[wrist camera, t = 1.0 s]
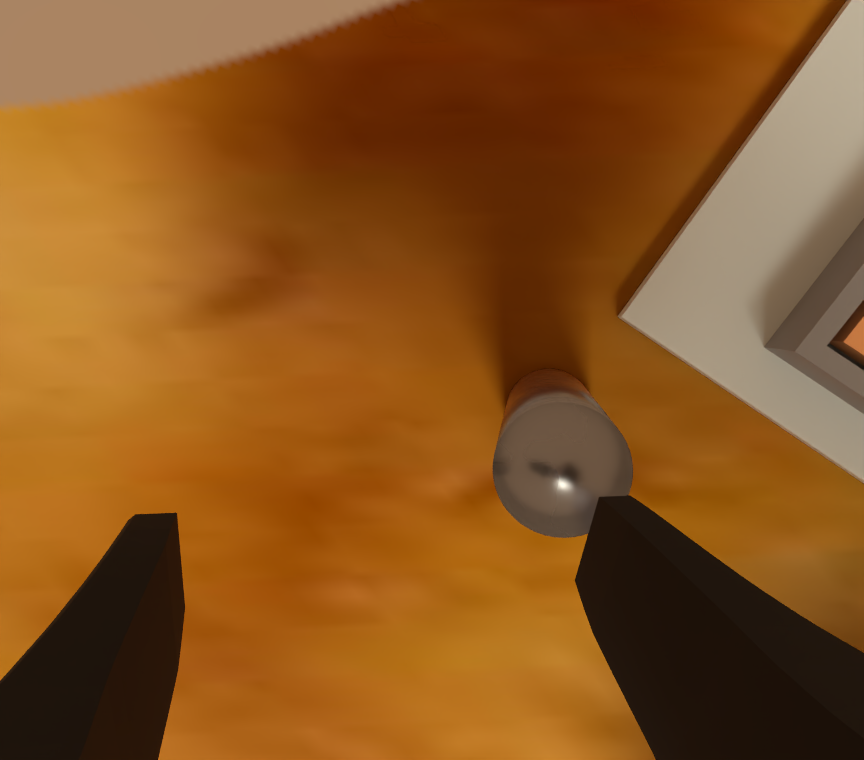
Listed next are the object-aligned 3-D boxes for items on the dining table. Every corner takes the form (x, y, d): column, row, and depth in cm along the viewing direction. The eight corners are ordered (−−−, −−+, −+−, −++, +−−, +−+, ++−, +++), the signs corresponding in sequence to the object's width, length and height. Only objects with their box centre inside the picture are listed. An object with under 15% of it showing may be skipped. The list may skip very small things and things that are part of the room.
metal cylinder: (610, 401, 23) (661, 456, 14) (558, 469, 23) (578, 564, 15) (538, 351, 23) (544, 375, 14) (489, 420, 24) (466, 484, 15)
